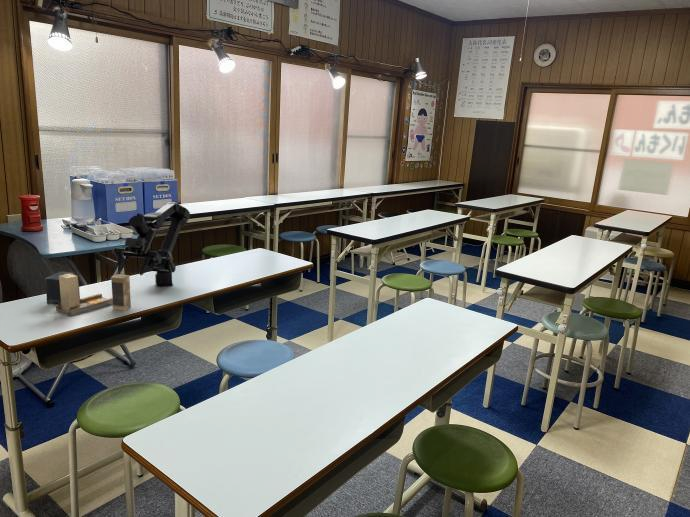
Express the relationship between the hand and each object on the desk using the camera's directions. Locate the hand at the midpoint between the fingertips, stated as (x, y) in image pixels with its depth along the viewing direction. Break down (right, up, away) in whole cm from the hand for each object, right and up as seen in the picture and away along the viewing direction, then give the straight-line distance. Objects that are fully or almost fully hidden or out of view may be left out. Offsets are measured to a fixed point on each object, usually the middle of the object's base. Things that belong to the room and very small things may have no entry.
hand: (129, 273), depth 199 cm
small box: (-28, -11, +2) cm, 30 cm away
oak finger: (-2, -13, -3) cm, 14 cm away
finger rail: (-15, -13, -4) cm, 20 cm away
